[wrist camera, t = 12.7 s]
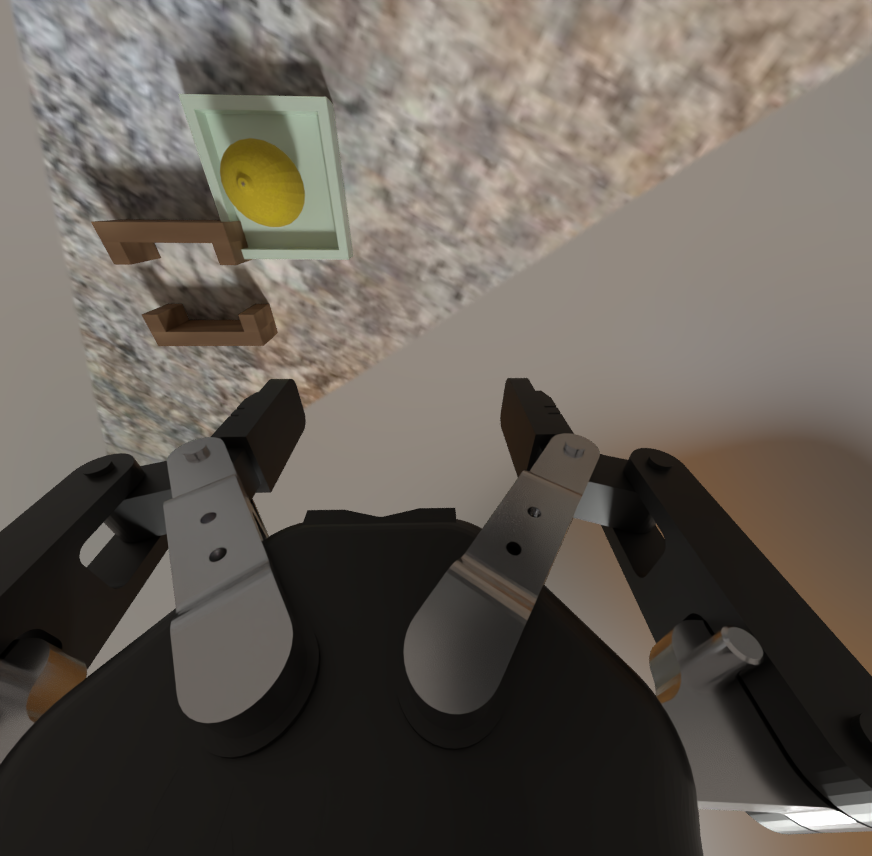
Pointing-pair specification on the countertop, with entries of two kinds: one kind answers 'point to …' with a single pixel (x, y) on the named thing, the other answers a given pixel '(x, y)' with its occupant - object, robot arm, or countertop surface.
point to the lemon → (262, 182)
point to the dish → (306, 147)
